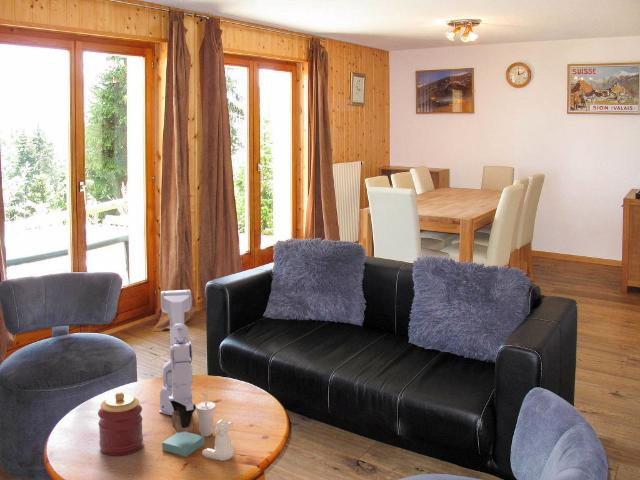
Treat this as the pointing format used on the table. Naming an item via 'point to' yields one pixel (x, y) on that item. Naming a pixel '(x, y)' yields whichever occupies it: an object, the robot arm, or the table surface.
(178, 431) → the walnut block
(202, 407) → the smoothie
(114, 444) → the canister
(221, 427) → the seated beast figurine
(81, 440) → the table surface
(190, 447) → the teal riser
